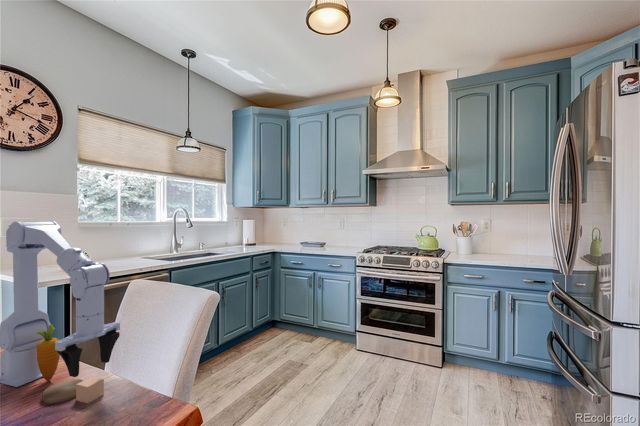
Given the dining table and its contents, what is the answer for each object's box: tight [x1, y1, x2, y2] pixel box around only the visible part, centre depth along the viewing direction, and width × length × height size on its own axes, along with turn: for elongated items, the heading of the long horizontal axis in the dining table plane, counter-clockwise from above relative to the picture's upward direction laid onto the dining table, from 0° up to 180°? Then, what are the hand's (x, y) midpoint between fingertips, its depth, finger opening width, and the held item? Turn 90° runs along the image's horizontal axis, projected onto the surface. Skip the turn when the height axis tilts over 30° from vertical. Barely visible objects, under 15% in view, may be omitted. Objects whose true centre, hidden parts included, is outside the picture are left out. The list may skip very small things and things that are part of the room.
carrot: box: [37, 324, 61, 382], centre depth 87 cm, size 5×5×15 cm
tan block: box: [75, 376, 105, 404], centre depth 78 cm, size 4×4×4 cm
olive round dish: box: [42, 378, 84, 404], centre depth 80 cm, size 8×8×2 cm
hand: (90, 368), depth 78 cm, fingers open, 7 cm apart
